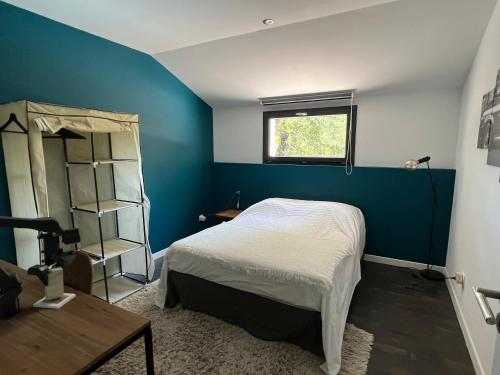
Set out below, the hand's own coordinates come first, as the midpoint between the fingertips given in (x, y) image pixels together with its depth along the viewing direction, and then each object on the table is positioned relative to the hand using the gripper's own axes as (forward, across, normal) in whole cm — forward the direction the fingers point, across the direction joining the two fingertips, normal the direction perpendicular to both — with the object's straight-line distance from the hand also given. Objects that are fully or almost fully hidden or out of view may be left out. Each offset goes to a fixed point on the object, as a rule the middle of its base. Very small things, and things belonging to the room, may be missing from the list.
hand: (53, 281), depth 116 cm
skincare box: (+7, 0, 0) cm, 7 cm away
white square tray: (+9, 0, 0) cm, 9 cm away
